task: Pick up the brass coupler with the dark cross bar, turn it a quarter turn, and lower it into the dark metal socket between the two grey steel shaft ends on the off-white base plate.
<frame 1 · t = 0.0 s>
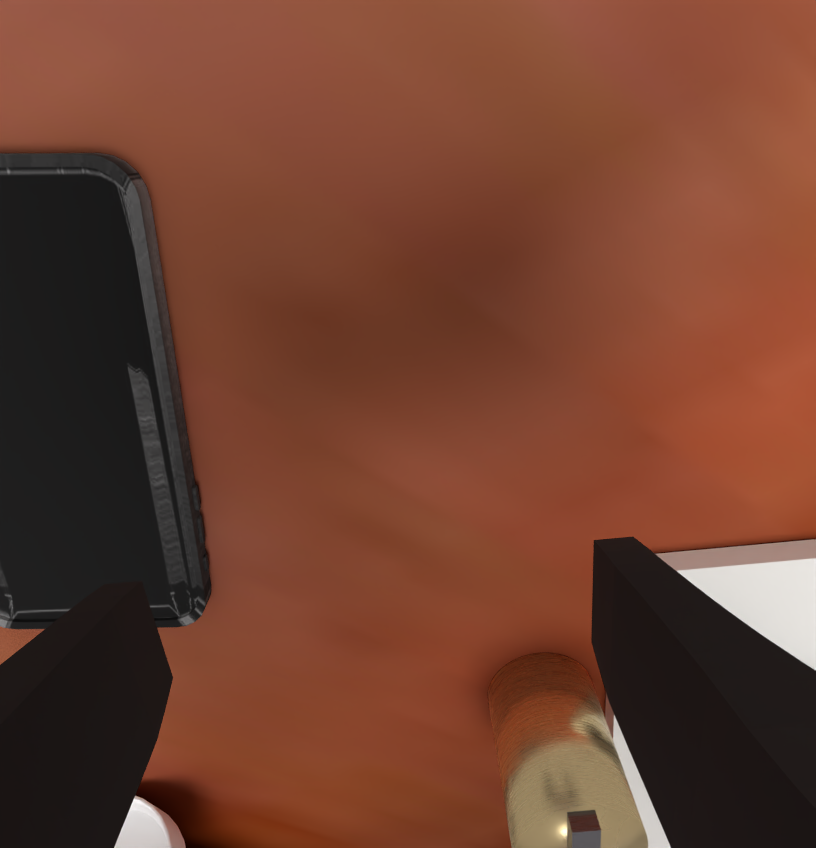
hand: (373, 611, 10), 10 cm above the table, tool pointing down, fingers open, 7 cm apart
phone: (67, 411, 20), on the table
brass coupler: (540, 693, 25), on the table
base plate: (733, 715, 25), on the table
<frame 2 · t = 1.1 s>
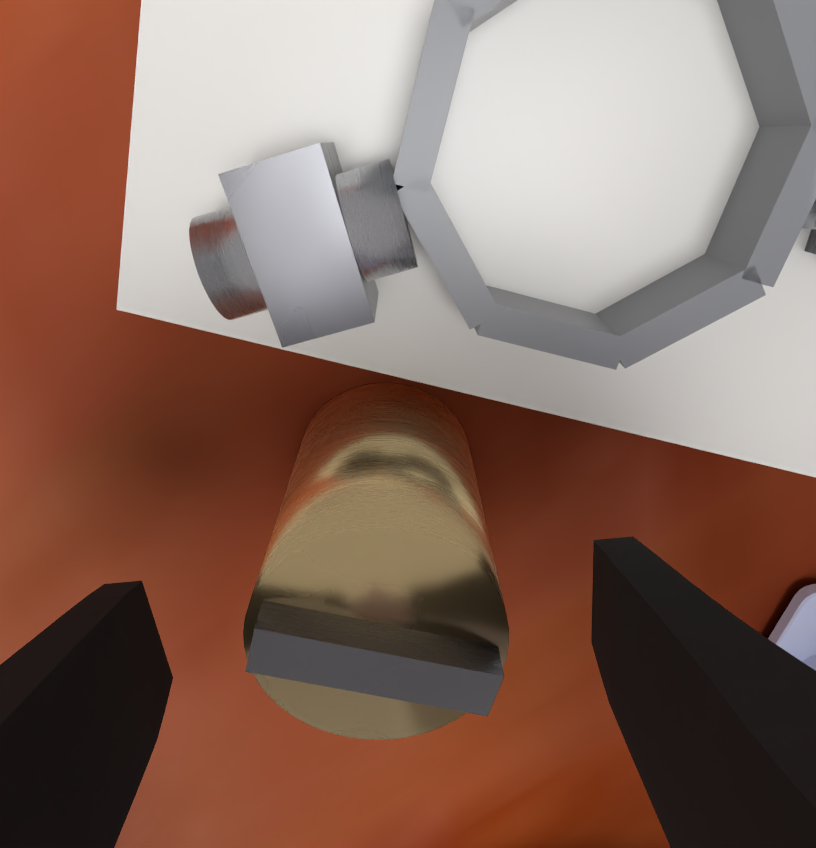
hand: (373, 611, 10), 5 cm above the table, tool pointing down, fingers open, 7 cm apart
brass coupler: (385, 462, 15), on the table
base plate: (577, 151, 13), on the table
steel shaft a: (322, 226, 13), resting on base plate
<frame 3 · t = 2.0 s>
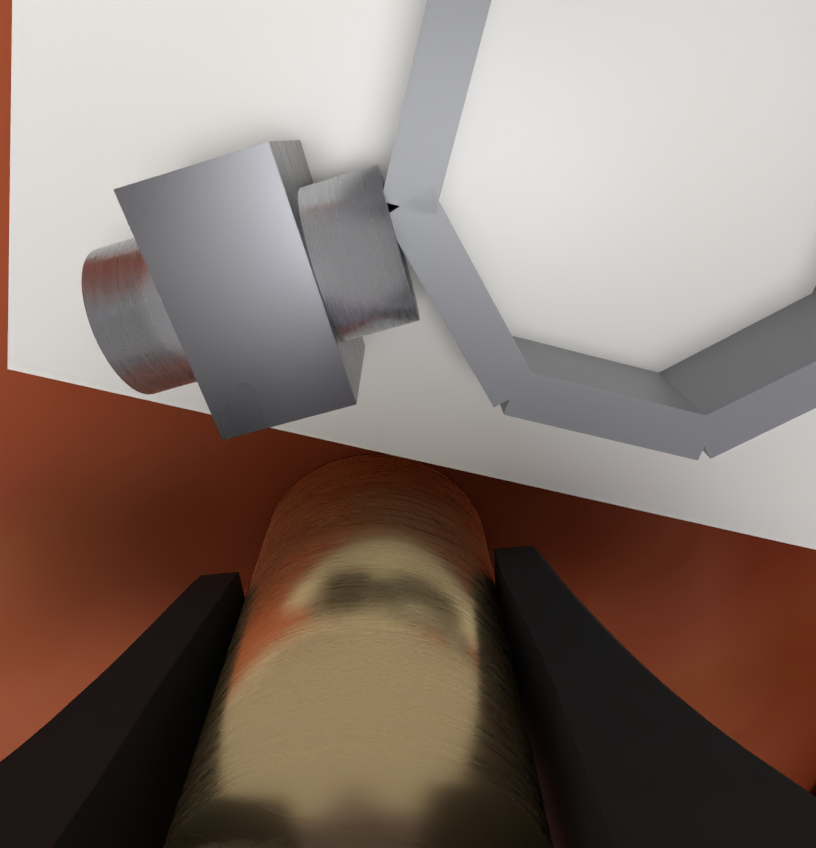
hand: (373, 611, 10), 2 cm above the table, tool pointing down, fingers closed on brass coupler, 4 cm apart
brass coupler: (376, 552, 12), on the table, touching gripper
base plate: (636, 152, 9), on the table
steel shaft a: (289, 253, 10), resting on base plate
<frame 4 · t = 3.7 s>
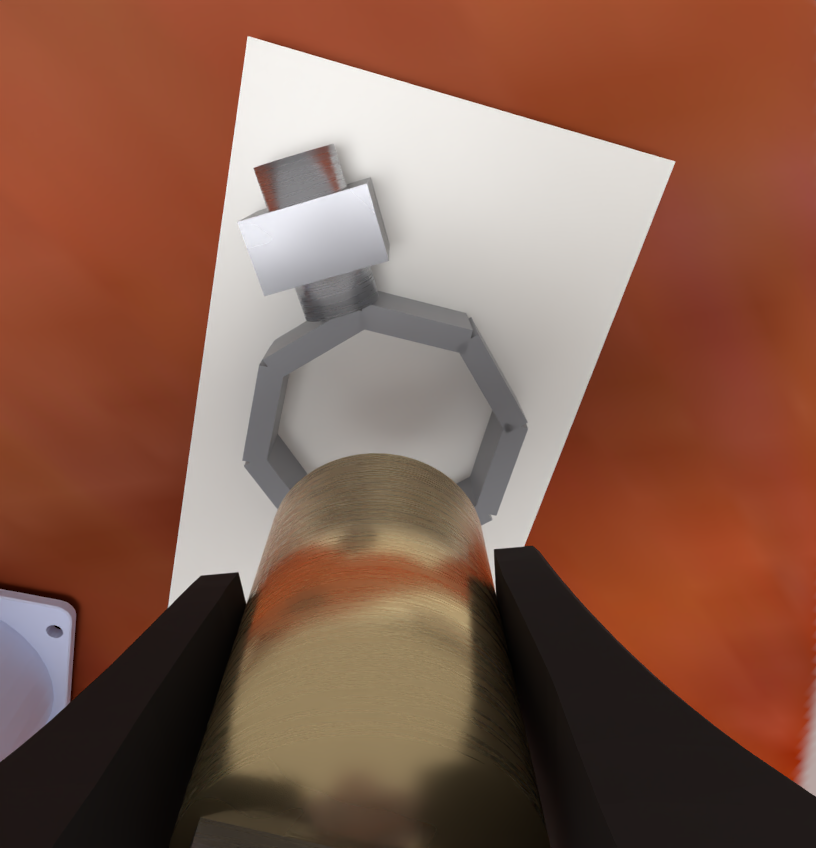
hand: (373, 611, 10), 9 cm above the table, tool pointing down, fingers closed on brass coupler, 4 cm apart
brass coupler: (377, 548, 12), point 7 cm above the table, touching gripper
base plate: (385, 405, 19), on the table
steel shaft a: (328, 223, 17), resting on base plate
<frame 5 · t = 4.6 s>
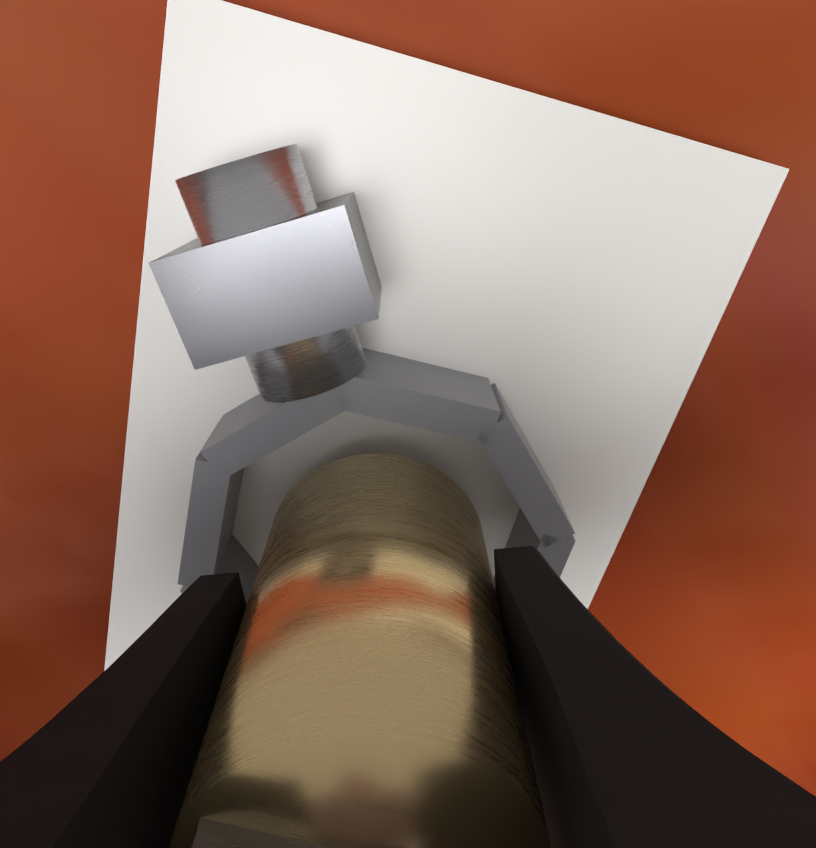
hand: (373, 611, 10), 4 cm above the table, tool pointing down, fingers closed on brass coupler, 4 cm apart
brass coupler: (377, 548, 12), point 2 cm above the table, touching gripper
base plate: (378, 490, 14), on the table
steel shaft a: (297, 253, 12), resting on base plate
when the fingers open (3 cm above the table, at t = 5.2 s): brass coupler stays where it is, resting on base plate.
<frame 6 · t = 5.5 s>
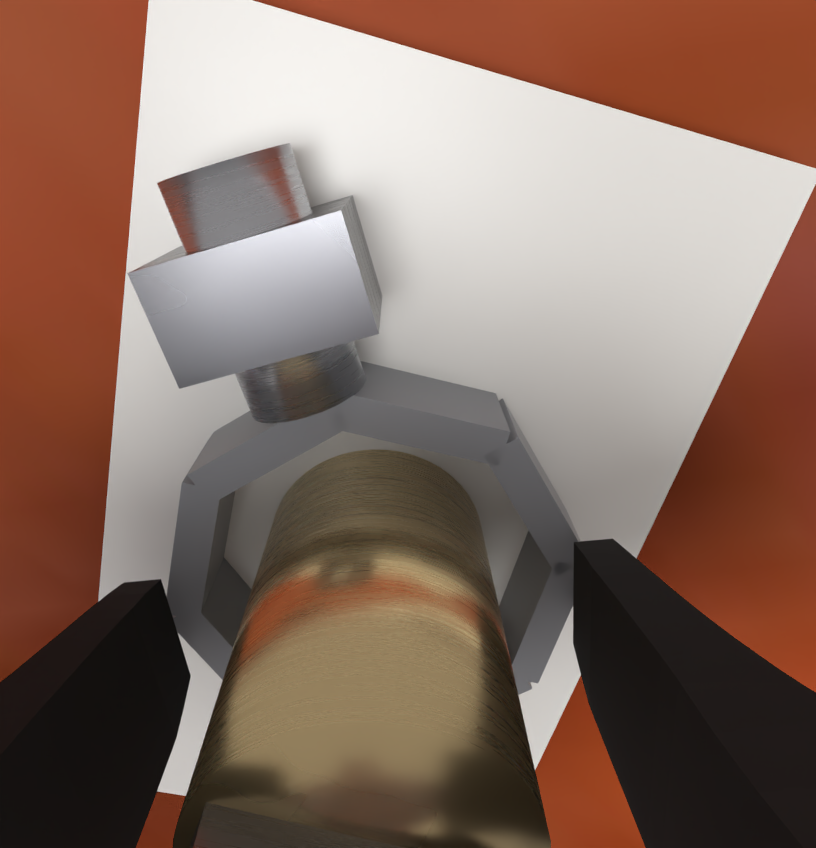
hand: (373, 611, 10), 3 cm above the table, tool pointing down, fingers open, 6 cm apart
brass coupler: (377, 543, 12), point 1 cm above the table, touching base plate
base plate: (378, 509, 13), on the table
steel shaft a: (292, 260, 11), resting on base plate
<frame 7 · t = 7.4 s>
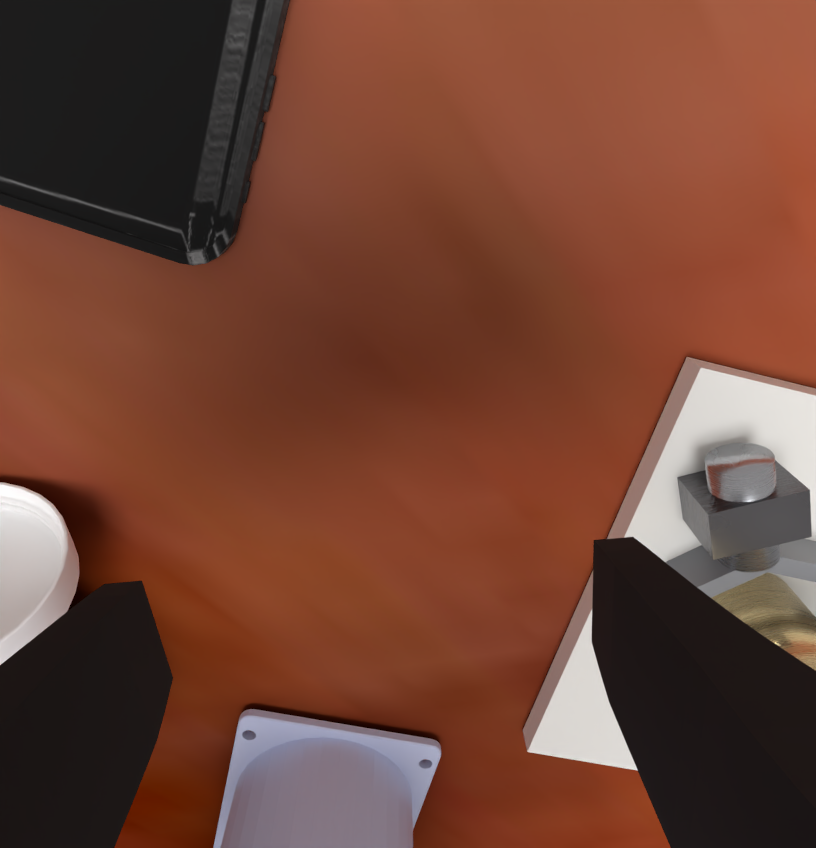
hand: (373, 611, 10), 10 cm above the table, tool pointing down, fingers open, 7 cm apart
brass coupler: (737, 618, 23), point 1 cm above the table, touching base plate
spread jar: (4, 613, 24), on the table
base plate: (724, 595, 23), on the table
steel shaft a: (710, 472, 21), resting on base plate
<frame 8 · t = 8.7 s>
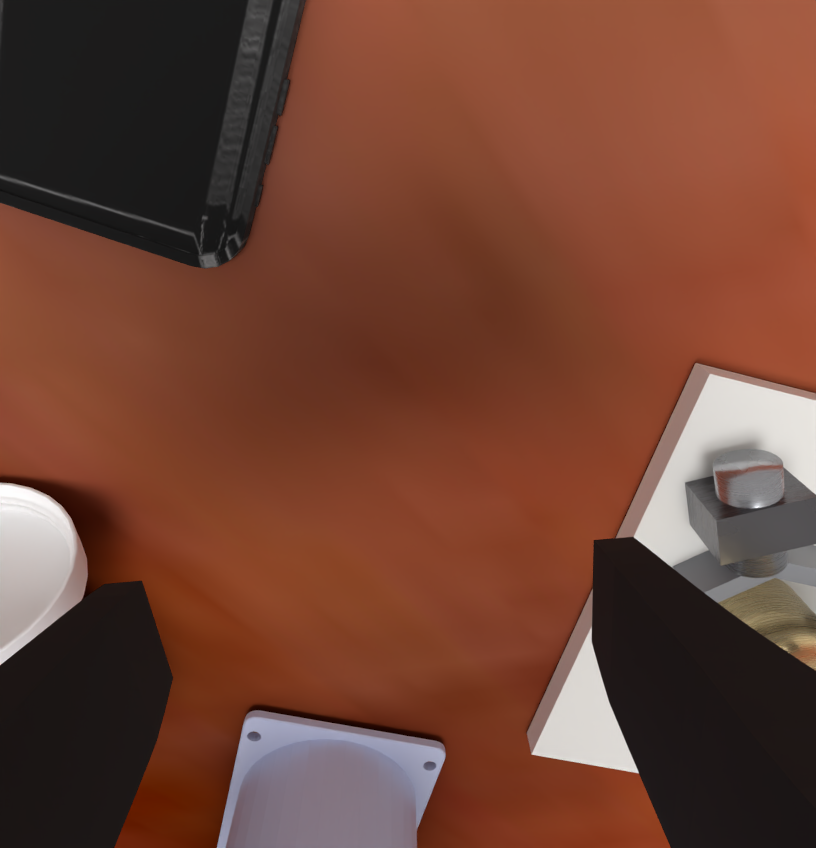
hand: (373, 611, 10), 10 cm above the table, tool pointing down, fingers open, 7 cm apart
brass coupler: (742, 623, 23), point 1 cm above the table, touching base plate
spread jar: (10, 614, 24), on the table
base plate: (729, 600, 24), on the table
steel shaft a: (717, 477, 21), resting on base plate
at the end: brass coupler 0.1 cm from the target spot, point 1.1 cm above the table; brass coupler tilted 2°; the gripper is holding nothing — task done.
